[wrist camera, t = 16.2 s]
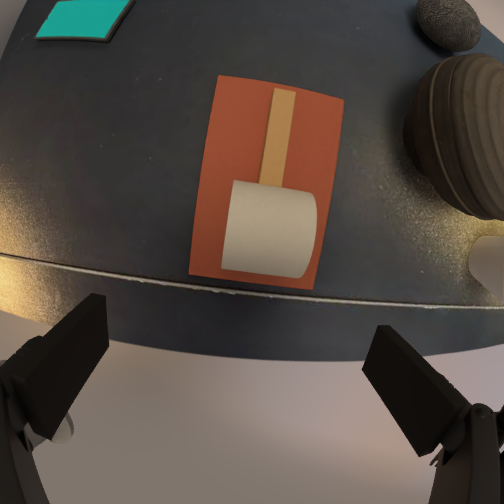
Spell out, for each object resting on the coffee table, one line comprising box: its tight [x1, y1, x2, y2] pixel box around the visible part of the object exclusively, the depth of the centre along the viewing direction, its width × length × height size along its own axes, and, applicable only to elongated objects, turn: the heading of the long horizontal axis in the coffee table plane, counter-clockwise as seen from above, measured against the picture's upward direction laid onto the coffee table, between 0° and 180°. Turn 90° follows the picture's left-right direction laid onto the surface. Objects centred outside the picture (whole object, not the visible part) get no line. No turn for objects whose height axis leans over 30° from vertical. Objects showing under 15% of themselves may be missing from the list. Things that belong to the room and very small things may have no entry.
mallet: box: [221, 88, 317, 278], centre depth 24 cm, size 18×7×8 cm, turn 171°
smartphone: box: [34, 0, 135, 42], centre depth 21 cm, size 7×1×15 cm
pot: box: [403, 53, 504, 221], centre depth 20 cm, size 18×18×20 cm
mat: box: [189, 75, 344, 290], centre depth 29 cm, size 22×14×1 cm, turn 171°
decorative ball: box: [416, 0, 481, 52], centre depth 20 cm, size 10×10×10 cm
